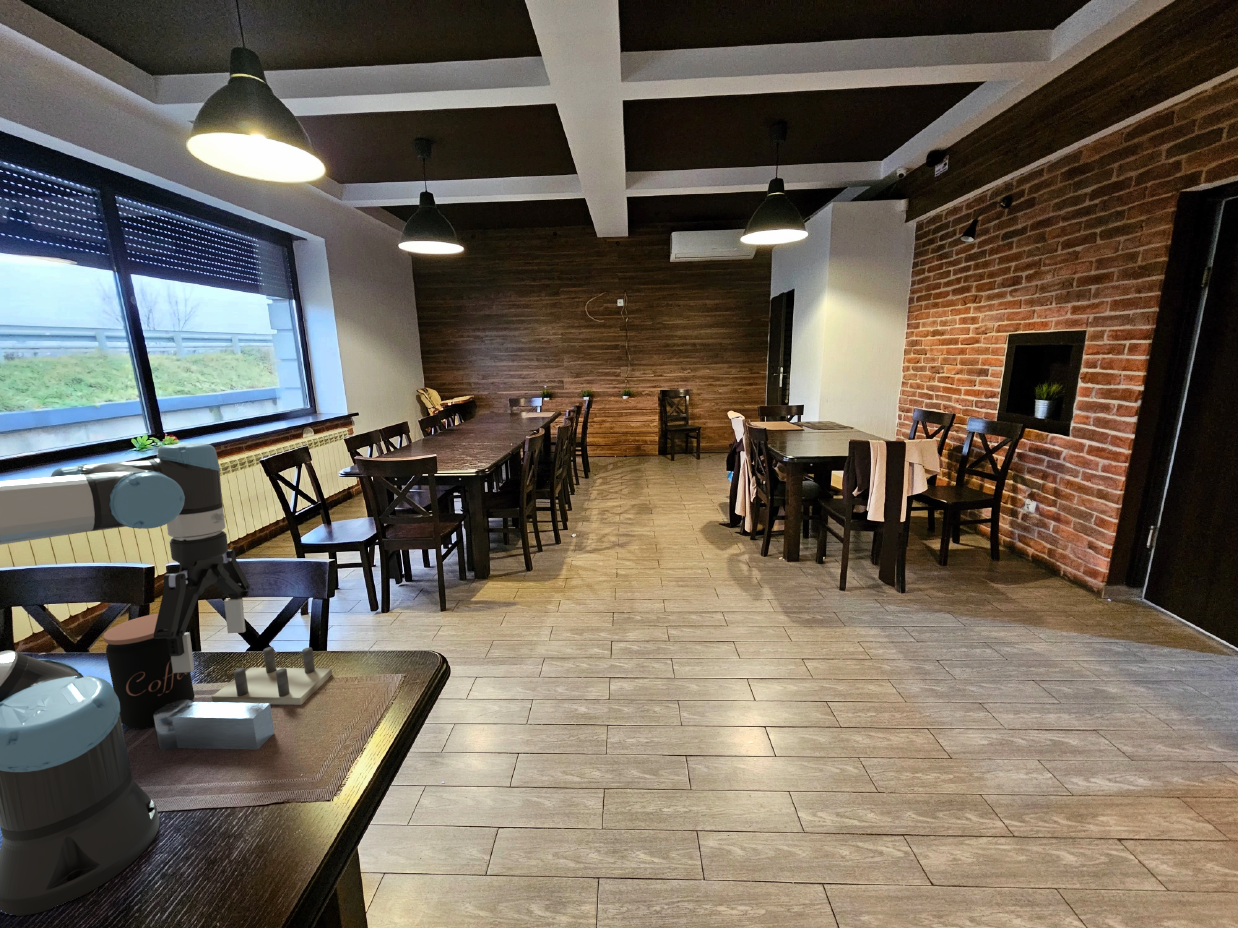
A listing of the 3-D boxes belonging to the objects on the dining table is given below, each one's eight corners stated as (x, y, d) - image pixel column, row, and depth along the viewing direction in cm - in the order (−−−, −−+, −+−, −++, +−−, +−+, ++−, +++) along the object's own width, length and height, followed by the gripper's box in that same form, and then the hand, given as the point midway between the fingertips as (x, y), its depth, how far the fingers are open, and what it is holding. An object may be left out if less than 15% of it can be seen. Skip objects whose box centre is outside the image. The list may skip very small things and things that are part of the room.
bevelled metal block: (276, 731, 91) (272, 701, 90) (255, 752, 86) (250, 720, 85) (178, 729, 92) (172, 699, 91) (150, 749, 87) (144, 718, 86)
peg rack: (301, 704, 98) (297, 674, 97) (212, 703, 99) (207, 673, 98) (332, 674, 108) (328, 646, 107) (251, 673, 109) (247, 646, 108)
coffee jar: (127, 740, 89) (108, 646, 86) (115, 716, 96) (97, 628, 93) (202, 708, 98) (188, 622, 94) (187, 688, 104) (173, 607, 101)
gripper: (165, 557, 74) (182, 689, 77) (264, 515, 99) (274, 617, 102) (109, 558, 73) (129, 692, 76) (223, 516, 98) (234, 619, 101)
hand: (212, 650), depth 89 cm, fingers open, 13 cm apart
